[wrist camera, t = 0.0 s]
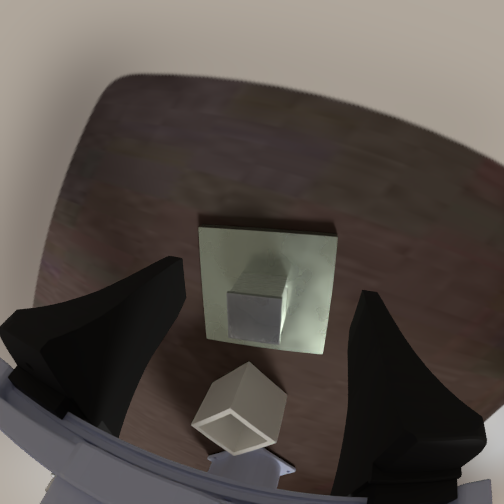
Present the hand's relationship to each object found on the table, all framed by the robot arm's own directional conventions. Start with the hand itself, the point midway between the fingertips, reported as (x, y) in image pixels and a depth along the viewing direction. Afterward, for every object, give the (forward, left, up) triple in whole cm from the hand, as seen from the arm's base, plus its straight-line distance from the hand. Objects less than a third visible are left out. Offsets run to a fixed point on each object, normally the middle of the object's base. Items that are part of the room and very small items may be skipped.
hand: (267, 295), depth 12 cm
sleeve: (-14, -9, -11) cm, 20 cm away
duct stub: (-5, -2, -11) cm, 12 cm away
